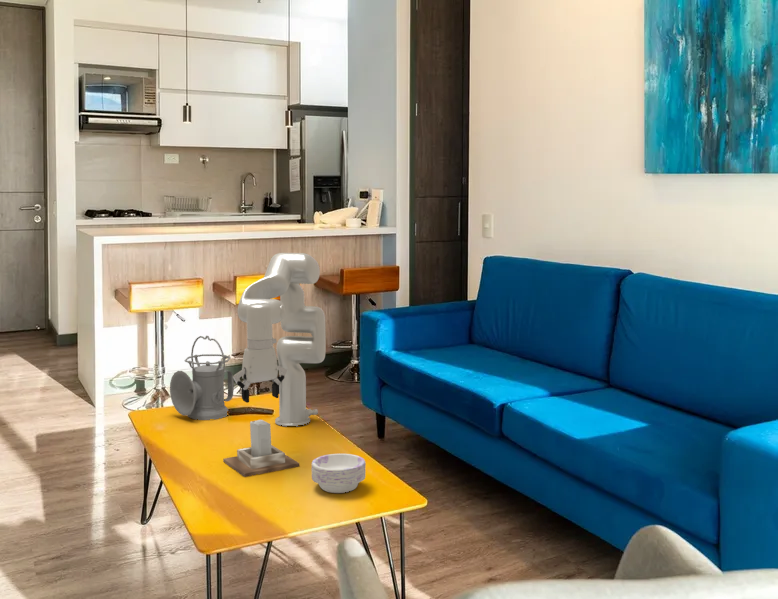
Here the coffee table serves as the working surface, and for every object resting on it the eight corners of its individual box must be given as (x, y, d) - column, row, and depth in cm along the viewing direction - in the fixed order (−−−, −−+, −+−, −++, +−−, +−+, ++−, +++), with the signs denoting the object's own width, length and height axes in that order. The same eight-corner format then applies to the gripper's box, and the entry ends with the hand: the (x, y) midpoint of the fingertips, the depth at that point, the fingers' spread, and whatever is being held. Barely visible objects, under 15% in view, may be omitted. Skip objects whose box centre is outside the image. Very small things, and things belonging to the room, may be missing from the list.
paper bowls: (314, 478, 238) (314, 451, 237) (366, 479, 237) (367, 452, 236) (308, 497, 222) (308, 469, 221) (363, 498, 222) (363, 470, 221)
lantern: (167, 414, 303) (165, 335, 299) (216, 404, 319) (214, 328, 315) (199, 426, 289) (197, 343, 285) (249, 414, 305) (248, 335, 301)
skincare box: (272, 462, 248) (272, 423, 246) (259, 464, 245) (258, 425, 244) (263, 456, 253) (262, 418, 251) (250, 459, 250) (249, 421, 249)
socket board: (276, 452, 261) (276, 440, 260) (299, 466, 247) (299, 453, 247) (223, 461, 251) (223, 449, 250) (244, 477, 238) (244, 463, 237)
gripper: (280, 339, 252) (281, 392, 255) (228, 344, 243) (229, 400, 245) (291, 343, 246) (292, 398, 248) (238, 349, 236) (239, 406, 239)
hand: (260, 399), depth 247 cm, fingers open, 9 cm apart
